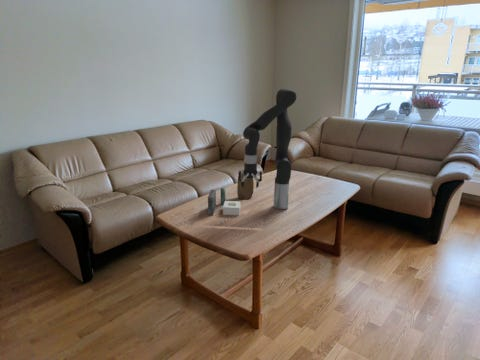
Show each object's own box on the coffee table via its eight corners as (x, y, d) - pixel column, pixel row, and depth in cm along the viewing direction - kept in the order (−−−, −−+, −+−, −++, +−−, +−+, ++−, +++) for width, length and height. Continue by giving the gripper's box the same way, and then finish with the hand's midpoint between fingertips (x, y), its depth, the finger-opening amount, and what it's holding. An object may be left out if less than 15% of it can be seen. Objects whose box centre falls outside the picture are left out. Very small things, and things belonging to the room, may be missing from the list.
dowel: (225, 204, 228) (225, 187, 224) (225, 206, 225) (225, 189, 221) (220, 204, 228) (220, 187, 224) (220, 206, 225) (220, 189, 221)
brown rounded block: (242, 200, 235) (243, 173, 228) (236, 197, 240) (236, 170, 234) (254, 197, 241) (255, 170, 235) (247, 194, 247) (248, 167, 240)
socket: (240, 208, 219) (240, 201, 217) (239, 215, 209) (239, 207, 208) (224, 208, 219) (224, 200, 218) (223, 214, 210) (223, 207, 208)
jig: (242, 209, 221) (242, 190, 216) (240, 218, 208) (241, 198, 204) (211, 208, 222) (211, 189, 218) (208, 217, 210) (207, 197, 205)
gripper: (262, 160, 206) (261, 185, 212) (239, 159, 207) (238, 184, 213) (262, 163, 199) (261, 190, 204) (238, 162, 200) (237, 189, 205)
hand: (249, 187), depth 208 cm, fingers open, 8 cm apart
